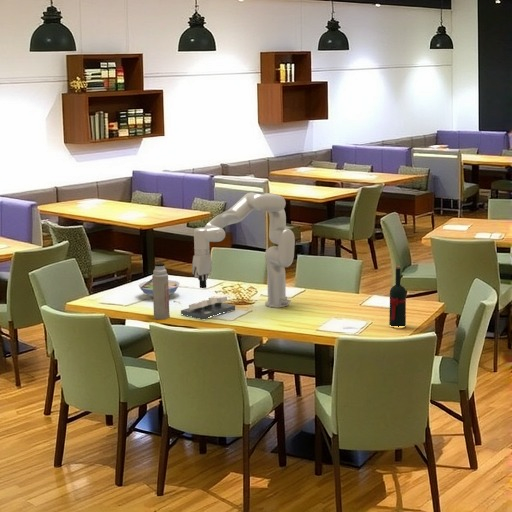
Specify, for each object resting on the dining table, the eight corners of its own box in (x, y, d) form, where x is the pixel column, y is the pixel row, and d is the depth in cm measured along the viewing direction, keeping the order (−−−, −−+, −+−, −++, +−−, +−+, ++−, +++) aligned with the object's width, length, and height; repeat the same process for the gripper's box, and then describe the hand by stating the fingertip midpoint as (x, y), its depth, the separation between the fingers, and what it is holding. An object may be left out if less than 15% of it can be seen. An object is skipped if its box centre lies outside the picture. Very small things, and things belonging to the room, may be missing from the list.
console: (235, 310, 498) (235, 303, 497) (203, 319, 480) (203, 312, 479) (212, 305, 508) (212, 298, 507) (181, 315, 490) (180, 307, 489)
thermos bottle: (172, 316, 488) (170, 262, 482) (163, 320, 481) (161, 265, 475) (160, 314, 492) (158, 261, 486) (150, 318, 485) (148, 264, 479)
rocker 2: (217, 302, 491) (216, 297, 491) (211, 304, 488) (210, 299, 488) (205, 305, 497) (204, 300, 497) (199, 306, 494) (198, 302, 494)
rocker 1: (207, 305, 486) (206, 300, 486) (201, 307, 482) (200, 302, 482) (195, 308, 492) (194, 303, 492) (189, 309, 488) (188, 304, 488)
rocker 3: (227, 301, 497) (226, 296, 497) (221, 302, 494) (220, 297, 494) (214, 300, 503) (214, 296, 503) (208, 302, 500) (208, 297, 499)
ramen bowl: (171, 303, 514) (170, 288, 513) (132, 301, 520) (131, 286, 518) (186, 292, 538) (186, 278, 536) (148, 291, 544) (148, 277, 542)
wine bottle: (384, 328, 458) (385, 267, 452) (393, 323, 466) (393, 263, 460) (399, 330, 454) (400, 269, 448) (408, 325, 462) (409, 265, 456)
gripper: (206, 249, 487) (207, 284, 491) (186, 253, 476) (187, 289, 480) (217, 250, 482) (218, 286, 486) (197, 255, 471) (198, 291, 475)
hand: (203, 287), depth 483 cm, fingers closed
